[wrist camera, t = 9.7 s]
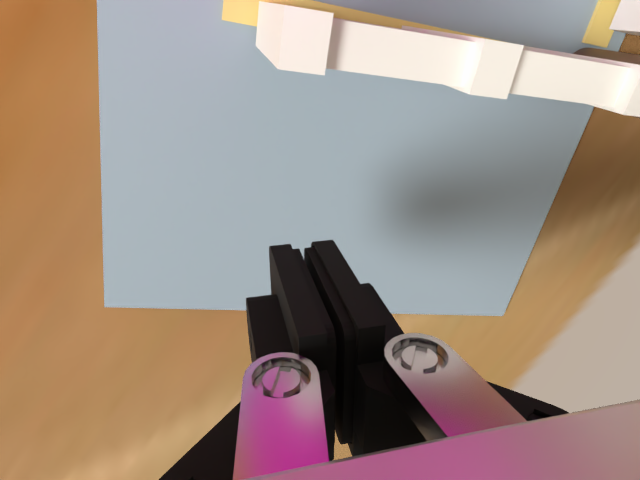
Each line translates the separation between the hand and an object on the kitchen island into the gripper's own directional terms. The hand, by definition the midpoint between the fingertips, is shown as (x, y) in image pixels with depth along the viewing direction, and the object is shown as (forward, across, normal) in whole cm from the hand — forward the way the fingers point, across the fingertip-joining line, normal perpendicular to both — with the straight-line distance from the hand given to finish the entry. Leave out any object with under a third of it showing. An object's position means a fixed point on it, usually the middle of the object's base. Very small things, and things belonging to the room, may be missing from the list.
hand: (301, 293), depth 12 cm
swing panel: (+5, -5, -6) cm, 9 cm away
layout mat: (+6, -4, -3) cm, 7 cm away
